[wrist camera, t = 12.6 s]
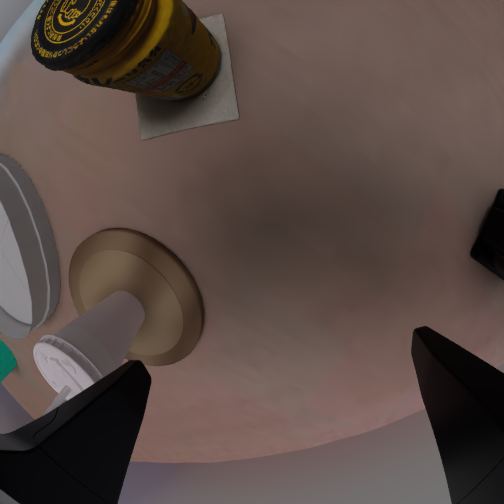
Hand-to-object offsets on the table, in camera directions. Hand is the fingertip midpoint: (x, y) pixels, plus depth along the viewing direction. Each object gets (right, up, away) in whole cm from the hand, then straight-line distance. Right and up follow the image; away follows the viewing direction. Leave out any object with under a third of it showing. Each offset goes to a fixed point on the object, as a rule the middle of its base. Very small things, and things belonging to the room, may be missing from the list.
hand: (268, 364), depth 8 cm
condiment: (-5, +16, +9) cm, 19 cm away
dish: (-31, +5, +17) cm, 36 cm away
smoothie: (-12, -2, +15) cm, 19 cm away
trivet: (-11, -1, +16) cm, 20 cm away
